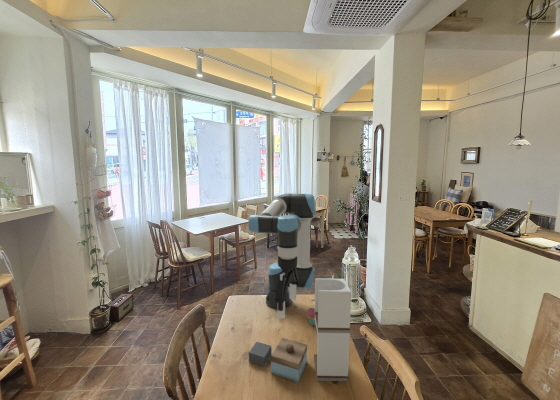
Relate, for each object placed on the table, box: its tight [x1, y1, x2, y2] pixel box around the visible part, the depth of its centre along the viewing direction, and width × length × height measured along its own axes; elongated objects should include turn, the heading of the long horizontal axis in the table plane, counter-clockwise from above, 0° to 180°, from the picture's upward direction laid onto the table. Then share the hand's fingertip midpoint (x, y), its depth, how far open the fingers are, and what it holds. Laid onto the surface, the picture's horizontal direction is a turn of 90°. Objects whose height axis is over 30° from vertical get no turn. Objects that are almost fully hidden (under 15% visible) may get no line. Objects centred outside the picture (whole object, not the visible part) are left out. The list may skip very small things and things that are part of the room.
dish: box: [270, 351, 308, 384], centre depth 97 cm, size 11×11×5 cm
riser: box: [248, 341, 272, 367], centre depth 102 cm, size 7×7×4 cm
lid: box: [270, 337, 308, 370], centre depth 97 cm, size 11×11×4 cm
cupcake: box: [305, 307, 316, 326], centre depth 126 cm, size 9×8×12 cm
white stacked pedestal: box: [313, 277, 352, 382], centre depth 95 cm, size 11×11×35 cm
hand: (287, 307), depth 97 cm, fingers open, 13 cm apart
